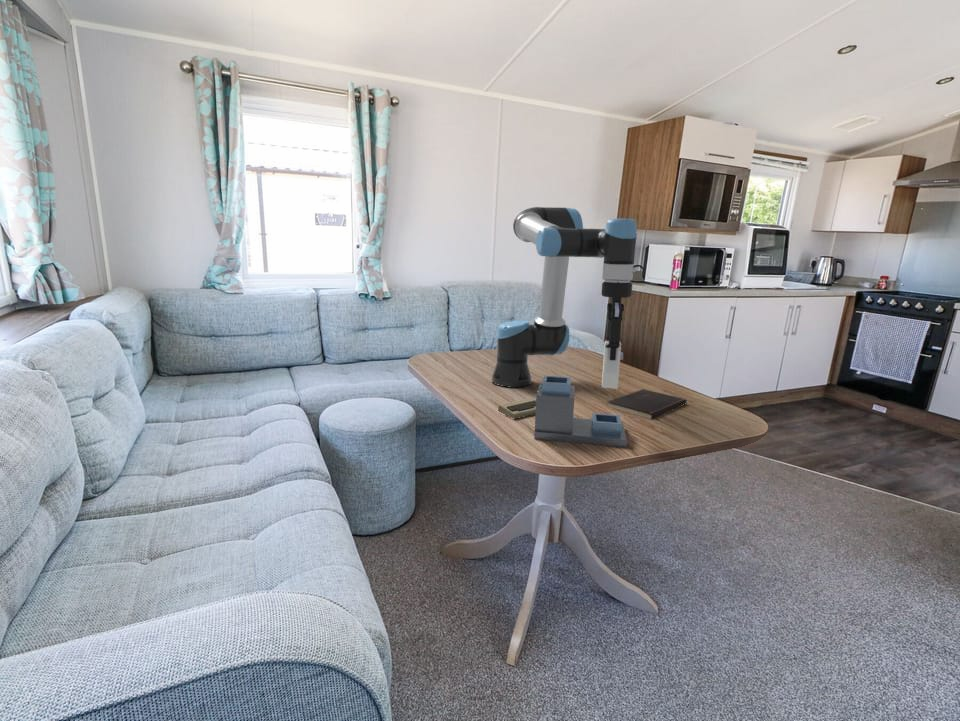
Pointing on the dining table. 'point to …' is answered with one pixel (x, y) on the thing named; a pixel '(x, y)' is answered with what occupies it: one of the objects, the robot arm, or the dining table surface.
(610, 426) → the stepped holder stand
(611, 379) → the plug
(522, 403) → the olive rectangular tray
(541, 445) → the dining table surface
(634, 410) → the hardcover book
